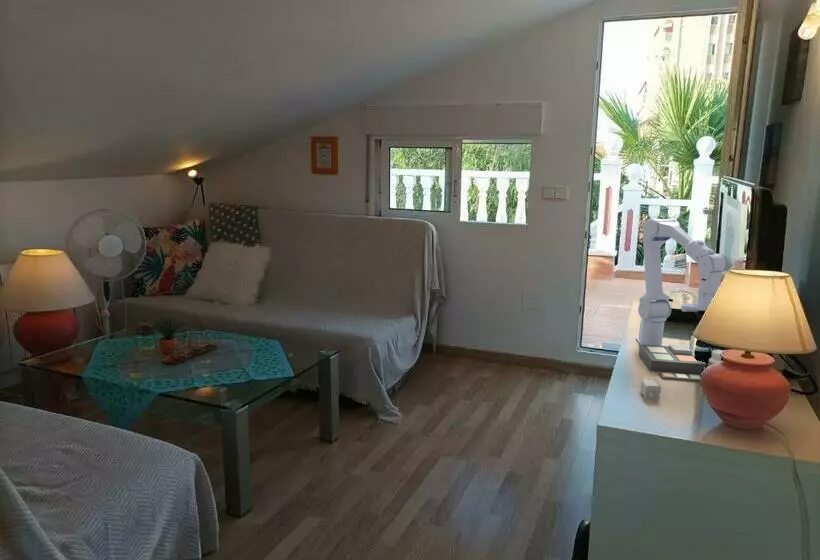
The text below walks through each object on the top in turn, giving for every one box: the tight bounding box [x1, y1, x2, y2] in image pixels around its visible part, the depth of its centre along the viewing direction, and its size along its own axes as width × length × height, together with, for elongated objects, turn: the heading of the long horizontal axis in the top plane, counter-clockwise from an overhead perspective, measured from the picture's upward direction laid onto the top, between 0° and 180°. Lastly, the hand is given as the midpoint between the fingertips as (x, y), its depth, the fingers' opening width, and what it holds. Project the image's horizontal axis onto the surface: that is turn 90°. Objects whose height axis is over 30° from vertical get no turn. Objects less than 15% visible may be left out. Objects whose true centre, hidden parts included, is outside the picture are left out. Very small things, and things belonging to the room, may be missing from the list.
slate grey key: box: [668, 343, 692, 355], centre depth 199 cm, size 5×5×3 cm
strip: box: [658, 372, 701, 383], centre depth 185 cm, size 12×4×1 cm, turn 83°
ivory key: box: [647, 346, 668, 353], centre depth 200 cm, size 5×5×3 cm
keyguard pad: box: [638, 343, 707, 375], centre depth 196 cm, size 16×16×4 cm
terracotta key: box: [675, 355, 698, 362], centre depth 192 cm, size 5×5×3 cm
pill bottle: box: [707, 349, 724, 366], centre depth 180 cm, size 6×6×10 cm
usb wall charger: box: [640, 379, 662, 401], centre depth 169 cm, size 4×7×4 cm, turn 176°
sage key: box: [652, 353, 675, 361], centre depth 193 cm, size 5×5×3 cm
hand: (703, 334), depth 194 cm, fingers closed
